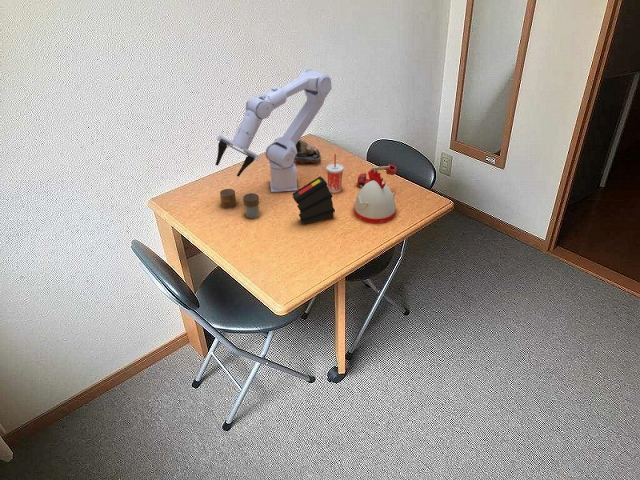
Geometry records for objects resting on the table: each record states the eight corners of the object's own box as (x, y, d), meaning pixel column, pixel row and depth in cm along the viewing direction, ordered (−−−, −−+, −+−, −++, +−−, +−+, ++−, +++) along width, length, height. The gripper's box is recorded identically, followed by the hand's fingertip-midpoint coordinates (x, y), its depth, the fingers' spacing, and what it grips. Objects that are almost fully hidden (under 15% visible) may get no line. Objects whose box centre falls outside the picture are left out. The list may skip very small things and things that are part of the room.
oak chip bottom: (236, 200, 171) (235, 194, 170) (236, 207, 167) (235, 201, 166) (221, 201, 171) (220, 195, 169) (221, 208, 167) (220, 202, 165)
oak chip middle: (231, 193, 171) (230, 187, 169) (238, 199, 167) (237, 193, 166) (217, 197, 168) (217, 191, 167) (225, 203, 165) (224, 197, 163)
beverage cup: (334, 195, 174) (334, 160, 166) (322, 189, 177) (322, 154, 169) (346, 190, 177) (347, 154, 169) (335, 183, 181) (335, 149, 173)
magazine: (343, 212, 161) (325, 180, 151) (309, 234, 161) (289, 202, 151) (339, 207, 164) (321, 174, 154) (306, 228, 164) (286, 196, 154)
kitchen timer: (378, 197, 172) (381, 159, 164) (403, 215, 163) (408, 175, 154) (346, 208, 166) (347, 169, 158) (370, 227, 157) (373, 186, 148)
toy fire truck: (358, 182, 181) (360, 159, 176) (394, 189, 177) (397, 165, 172) (356, 186, 179) (357, 162, 173) (392, 193, 175) (394, 169, 169)
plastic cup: (259, 210, 165) (258, 199, 163) (259, 217, 162) (258, 206, 159) (246, 211, 165) (244, 200, 162) (246, 218, 161) (245, 207, 159)
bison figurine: (320, 157, 198) (320, 134, 192) (321, 165, 193) (321, 141, 187) (291, 158, 198) (290, 135, 192) (291, 166, 192) (290, 142, 186)
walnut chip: (259, 198, 163) (258, 192, 162) (259, 206, 159) (259, 200, 158) (243, 200, 163) (242, 193, 161) (243, 208, 158) (243, 201, 157)
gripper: (224, 121, 153) (205, 160, 154) (265, 143, 155) (246, 181, 156) (226, 123, 160) (208, 160, 161) (266, 144, 162) (247, 180, 163)
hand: (227, 170), depth 159 cm, fingers open, 7 cm apart
